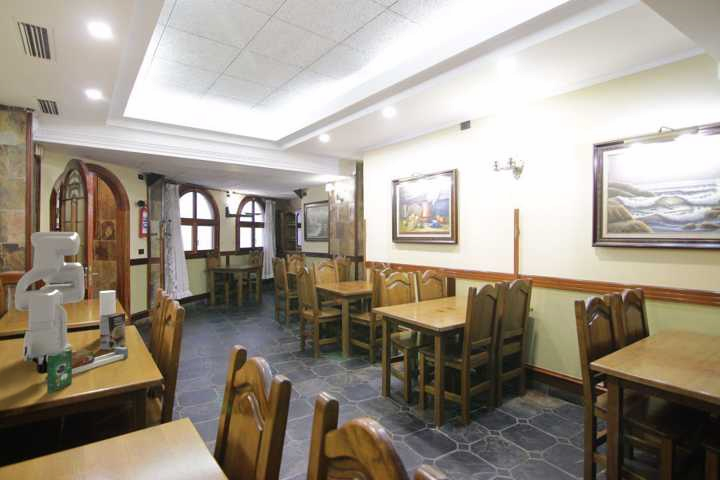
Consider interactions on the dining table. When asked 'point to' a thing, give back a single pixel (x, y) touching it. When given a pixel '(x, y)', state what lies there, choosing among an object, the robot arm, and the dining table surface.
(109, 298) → the cylindrical container
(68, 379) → the coffee box
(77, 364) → the tin
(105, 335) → the coffee box
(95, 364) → the guide track
